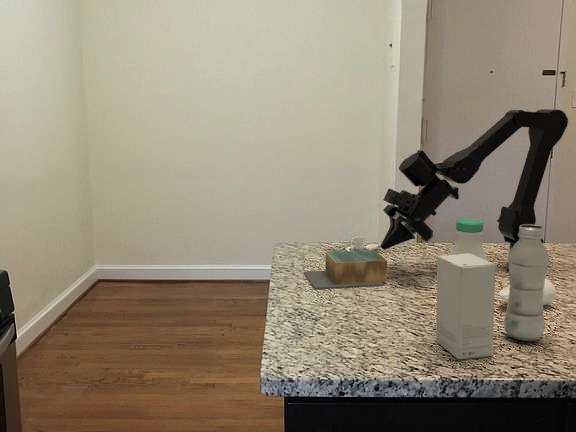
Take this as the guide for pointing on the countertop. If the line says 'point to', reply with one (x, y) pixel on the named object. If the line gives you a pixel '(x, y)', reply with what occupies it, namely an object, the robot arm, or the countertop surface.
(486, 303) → the skincare box
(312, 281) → the mat
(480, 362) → the countertop surface
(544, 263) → the plastic bottle
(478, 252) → the milk bottle
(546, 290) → the roll
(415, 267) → the countertop surface
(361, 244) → the teacup and saucer
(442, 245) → the countertop surface
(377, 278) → the tan and teal block
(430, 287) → the countertop surface
